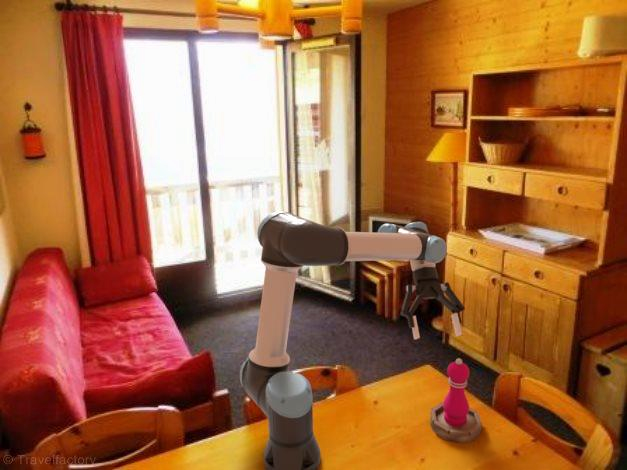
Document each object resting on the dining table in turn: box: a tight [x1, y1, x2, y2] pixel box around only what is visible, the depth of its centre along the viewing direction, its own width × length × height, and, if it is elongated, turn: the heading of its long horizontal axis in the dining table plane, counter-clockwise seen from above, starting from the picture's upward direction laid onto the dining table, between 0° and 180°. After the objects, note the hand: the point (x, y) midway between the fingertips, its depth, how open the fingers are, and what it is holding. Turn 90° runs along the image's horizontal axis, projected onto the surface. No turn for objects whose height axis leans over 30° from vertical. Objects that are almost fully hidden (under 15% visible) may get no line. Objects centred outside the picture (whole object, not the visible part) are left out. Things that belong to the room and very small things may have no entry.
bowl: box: [429, 401, 483, 444], centre depth 135 cm, size 14×14×3 cm
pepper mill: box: [443, 357, 470, 427], centre depth 133 cm, size 7×7×20 cm
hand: (438, 337), depth 139 cm, fingers open, 13 cm apart
